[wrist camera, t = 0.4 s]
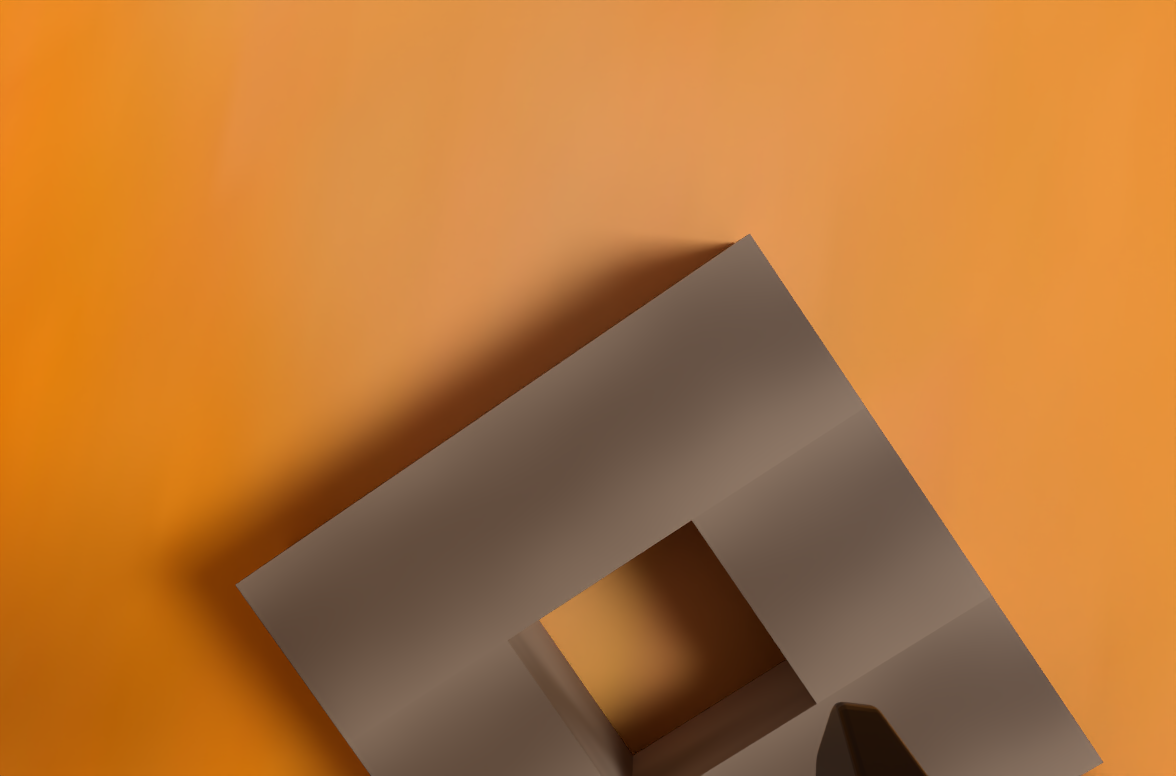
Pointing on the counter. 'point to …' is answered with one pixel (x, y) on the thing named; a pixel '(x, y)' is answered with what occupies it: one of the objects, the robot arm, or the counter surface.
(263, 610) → the socket board
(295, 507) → the counter surface
